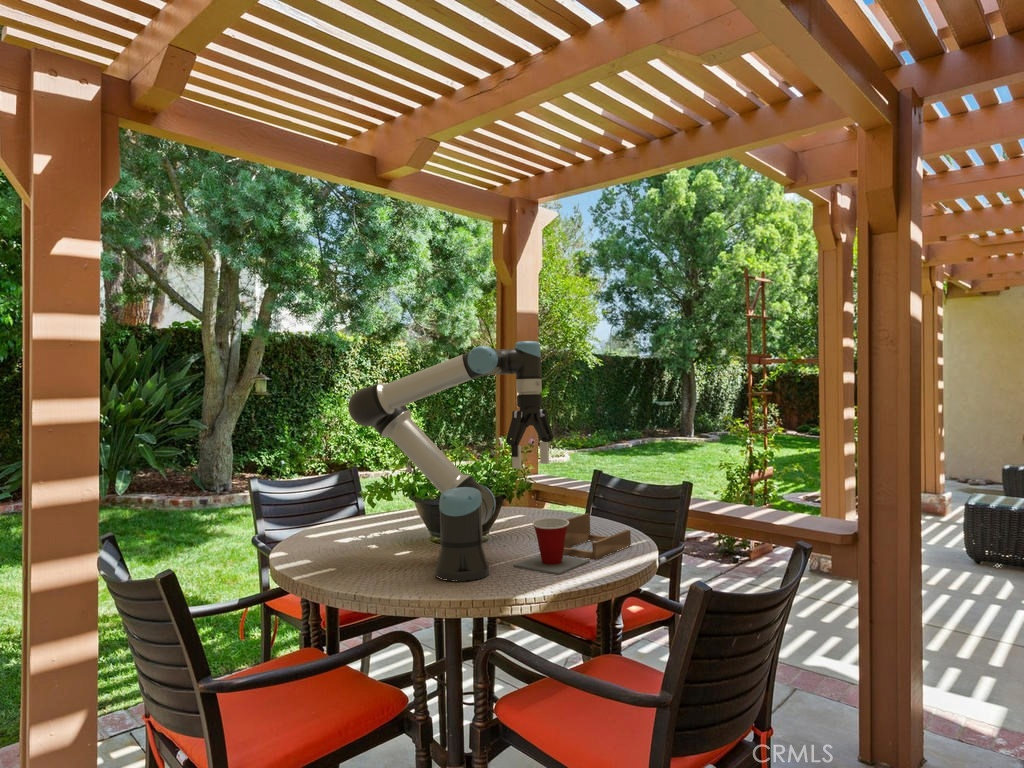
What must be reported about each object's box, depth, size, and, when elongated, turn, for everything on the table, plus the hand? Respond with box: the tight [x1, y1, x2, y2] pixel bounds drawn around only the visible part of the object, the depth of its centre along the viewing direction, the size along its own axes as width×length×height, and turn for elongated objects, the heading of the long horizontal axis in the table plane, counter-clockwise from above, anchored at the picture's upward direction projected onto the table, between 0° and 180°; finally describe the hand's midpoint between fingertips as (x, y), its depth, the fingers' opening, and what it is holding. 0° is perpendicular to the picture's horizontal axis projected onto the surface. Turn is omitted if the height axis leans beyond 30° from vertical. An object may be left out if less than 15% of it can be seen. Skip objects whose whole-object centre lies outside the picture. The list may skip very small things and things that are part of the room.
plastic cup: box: [531, 517, 569, 565], centre depth 190 cm, size 11×11×12 cm
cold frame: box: [563, 513, 632, 560], centre depth 208 cm, size 16×21×9 cm
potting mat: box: [512, 554, 591, 576], centre depth 190 cm, size 16×16×1 cm
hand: (531, 466), depth 192 cm, fingers open, 13 cm apart
